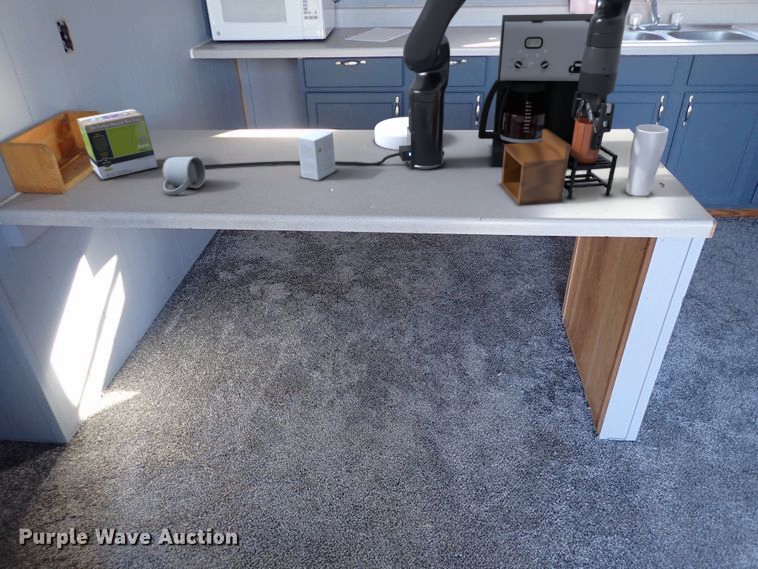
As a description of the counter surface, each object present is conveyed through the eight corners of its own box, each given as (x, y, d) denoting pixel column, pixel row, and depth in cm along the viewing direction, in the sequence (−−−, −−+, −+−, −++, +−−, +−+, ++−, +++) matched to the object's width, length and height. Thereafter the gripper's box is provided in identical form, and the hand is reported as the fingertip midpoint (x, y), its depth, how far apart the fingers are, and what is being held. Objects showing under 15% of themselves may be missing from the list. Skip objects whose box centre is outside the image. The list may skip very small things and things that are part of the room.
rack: (568, 199, 125) (574, 158, 120) (549, 182, 134) (554, 143, 129) (609, 196, 126) (618, 155, 121) (588, 179, 135) (594, 141, 130)
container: (443, 149, 159) (444, 133, 156) (375, 151, 159) (374, 135, 156) (436, 129, 176) (437, 115, 173) (374, 131, 176) (374, 117, 173)
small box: (319, 168, 148) (315, 129, 142) (336, 171, 145) (333, 131, 140) (301, 177, 142) (296, 137, 136) (318, 180, 139) (314, 140, 134)
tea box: (147, 159, 158) (134, 107, 151) (158, 168, 151) (144, 114, 144) (92, 171, 151) (75, 116, 143) (101, 180, 144) (83, 124, 136)
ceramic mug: (180, 179, 143) (173, 150, 139) (208, 181, 141) (202, 152, 137) (156, 195, 134) (148, 165, 130) (185, 197, 132) (178, 167, 128)
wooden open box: (519, 205, 123) (525, 148, 116) (500, 184, 134) (505, 131, 127) (561, 201, 124) (570, 145, 117) (539, 181, 135) (546, 128, 128)
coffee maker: (476, 166, 145) (485, 21, 127) (477, 144, 161) (486, 13, 143) (586, 170, 140) (613, 20, 122) (576, 147, 157) (599, 11, 138)
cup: (577, 163, 123) (583, 125, 119) (565, 155, 128) (571, 118, 124) (602, 161, 124) (609, 123, 119) (590, 153, 129) (596, 117, 124)
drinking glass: (634, 200, 123) (649, 134, 116) (615, 189, 129) (628, 125, 121) (659, 196, 125) (676, 130, 117) (640, 186, 130) (654, 122, 123)
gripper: (568, 63, 122) (557, 136, 130) (598, 75, 109) (584, 154, 118) (600, 62, 122) (587, 134, 131) (633, 73, 110) (617, 152, 119)
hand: (586, 143), depth 124 cm, fingers open, 8 cm apart
